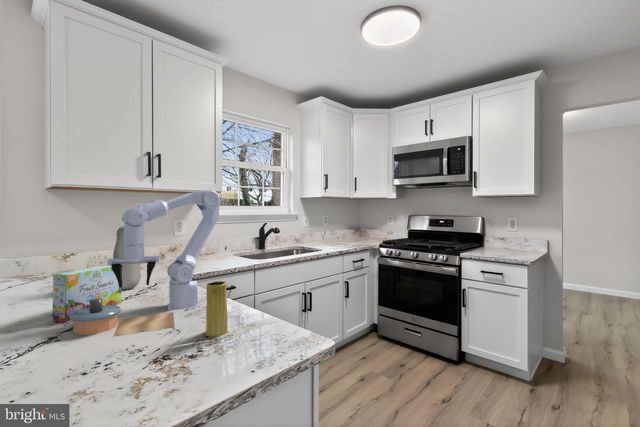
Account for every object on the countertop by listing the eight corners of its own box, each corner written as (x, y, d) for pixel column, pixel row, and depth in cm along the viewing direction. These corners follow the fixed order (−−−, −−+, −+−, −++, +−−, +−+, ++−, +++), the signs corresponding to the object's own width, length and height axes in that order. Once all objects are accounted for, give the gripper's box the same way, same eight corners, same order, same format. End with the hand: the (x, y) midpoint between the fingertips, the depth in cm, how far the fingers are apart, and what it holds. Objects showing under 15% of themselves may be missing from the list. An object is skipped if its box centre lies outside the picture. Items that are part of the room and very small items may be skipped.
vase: (206, 339, 83) (206, 286, 83) (203, 332, 89) (203, 282, 89) (230, 335, 86) (229, 284, 86) (225, 328, 92) (225, 280, 92)
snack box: (66, 323, 96) (66, 274, 96) (51, 321, 97) (51, 273, 97) (122, 303, 117) (122, 263, 117) (110, 302, 118) (109, 262, 118)
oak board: (173, 313, 105) (173, 312, 105) (174, 328, 91) (174, 327, 91) (120, 320, 98) (120, 319, 98) (113, 338, 85) (113, 336, 85)
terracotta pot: (118, 321, 97) (118, 307, 97) (114, 332, 88) (113, 316, 88) (79, 326, 93) (78, 311, 93) (69, 339, 84) (69, 322, 84)
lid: (122, 305, 99) (122, 292, 99) (117, 317, 88) (117, 302, 88) (75, 311, 93) (75, 297, 93) (64, 324, 82) (64, 308, 82)
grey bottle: (125, 285, 144) (125, 225, 144) (145, 286, 143) (145, 225, 143) (108, 291, 134) (107, 226, 134) (129, 292, 133) (129, 226, 133)
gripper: (105, 246, 96) (106, 291, 96) (158, 244, 102) (159, 285, 102) (109, 244, 102) (109, 286, 102) (159, 242, 109) (159, 281, 109)
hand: (134, 285), depth 103 cm, fingers open, 7 cm apart
